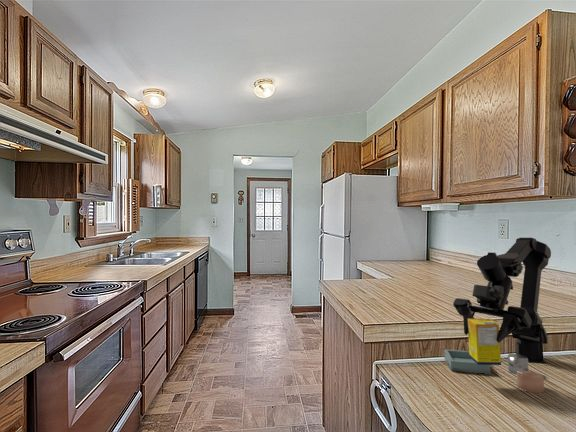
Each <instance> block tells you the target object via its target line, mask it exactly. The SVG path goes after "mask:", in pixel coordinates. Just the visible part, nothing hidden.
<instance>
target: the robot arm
mask: <svg viewBox="0 0 576 432" xmlns="http://www.w3.org/2000/svg"><path fill="white" fill-rule="evenodd" d="M551 256H552V250H551V248H550V247H549V245H547V243H543V241H542V242H541V241H539V240H537V239H536V238H534V237H518V238H516V240H515V243H514V244H513V245H512V246H511V247H510V248H509V249H508V250H507V251H506V252H504V253H502V254H498V255H497V252H490V251H488V252H487V254H486V255H483V256H481V257H480V258H479V259H477V261H476V266H477V268H478V269H479V271H480V272H481V274H482V276H483V279H485V280H486V281H488V283H487V285H481V284H474V286H473V290H472V291H473V292H472V294H471V295H472V297H474V298H476V302H477V304H479V305H476V304H472V302H471V301H470V299H467V298H462V297H461V298H460V297H458V298H457V297H456V298H455V299H454V301H453V303H452V306H453V307H454V308H455V310H456V312H457V313H458V315H459V316H462V318H463V319H462V320H463V332H464V334H465V335H466V336H468V319H475V317H474V316H475V315H476V314H477V313H478V314H482V315H483V314H484V315H487V316H493V317H499V318H502V322H501V325H500V327H499V332H498V335H497V339H496V340H497V342H500V343H501V341H503V340H505V338H507V337H508V336H509V335H510V334H512V335H511V337H512V338H513V339H517V340H516V342H515V354H518V355H522V356H525V357H527V358H528V362H532V363H533V362H534V363H543V364H545V363H547V360H546V359H544V345H545V344H547V345H548V344H549V343H548V342H549V341H548V339H549V338H548V333H547V331H546V329H545V327H544V325H543V320H542V318H541V316H540V315H539V313H538V309H539V298H540V289H541V278H542V271H543V270H544V269H545V268H546V267H547V266H548V265H549V260H550V259H551ZM523 265H524V267H523ZM523 269H524V271H523ZM522 271H523V272H522ZM521 273H523V281H522V289H521V299H520V307H519V306H514V305H509V300H508V298H509V294H510V291H512V290H514V285H513V280H512V279H511V277H513V278H517V277H519V276H520V274H521ZM506 305H507V306H508V305H509V306H508V307H507V308H506V309H507V310H505V306H506Z"/></svg>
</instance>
